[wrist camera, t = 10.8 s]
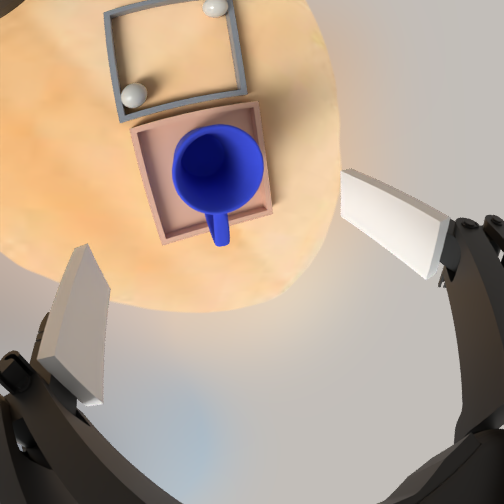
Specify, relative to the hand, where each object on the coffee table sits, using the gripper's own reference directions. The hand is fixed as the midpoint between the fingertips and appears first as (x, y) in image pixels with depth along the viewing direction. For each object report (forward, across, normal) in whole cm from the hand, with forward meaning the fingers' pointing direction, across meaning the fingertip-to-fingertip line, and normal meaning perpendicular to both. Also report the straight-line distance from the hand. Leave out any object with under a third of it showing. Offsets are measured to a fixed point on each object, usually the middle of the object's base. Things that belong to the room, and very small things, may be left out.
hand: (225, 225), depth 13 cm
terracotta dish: (+22, +2, -3) cm, 22 cm away
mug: (+21, +2, -3) cm, 22 cm away
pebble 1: (+22, -4, +9) cm, 24 cm away
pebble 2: (+22, +7, +18) cm, 29 cm away
